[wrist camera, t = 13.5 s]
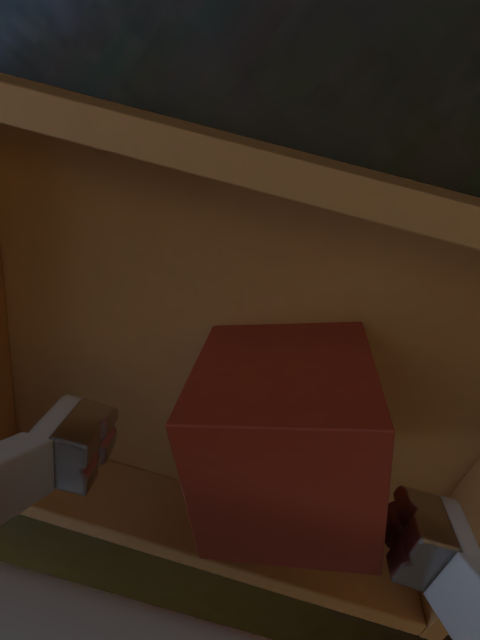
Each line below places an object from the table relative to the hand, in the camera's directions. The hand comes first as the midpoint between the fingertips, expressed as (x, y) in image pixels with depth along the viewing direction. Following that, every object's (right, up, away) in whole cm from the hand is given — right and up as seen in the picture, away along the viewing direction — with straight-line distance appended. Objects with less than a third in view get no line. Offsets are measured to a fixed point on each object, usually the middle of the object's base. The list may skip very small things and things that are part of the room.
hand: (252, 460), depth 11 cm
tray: (0, +3, +4) cm, 4 cm away
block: (+1, +2, +3) cm, 4 cm away
